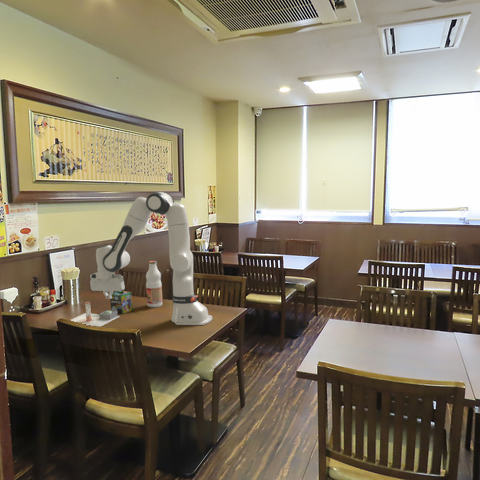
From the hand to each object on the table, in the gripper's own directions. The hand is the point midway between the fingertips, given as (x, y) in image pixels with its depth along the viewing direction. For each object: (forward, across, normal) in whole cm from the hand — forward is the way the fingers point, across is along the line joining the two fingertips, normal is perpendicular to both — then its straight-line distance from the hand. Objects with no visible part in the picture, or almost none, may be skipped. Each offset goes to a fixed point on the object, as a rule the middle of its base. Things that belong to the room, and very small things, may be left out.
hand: (108, 298), depth 217 cm
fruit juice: (+13, -12, -29) cm, 33 cm away
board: (+11, +8, +5) cm, 15 cm away
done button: (+11, +1, 0) cm, 11 cm away
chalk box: (+12, +1, -13) cm, 17 cm away
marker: (+10, +9, +8) cm, 16 cm away
